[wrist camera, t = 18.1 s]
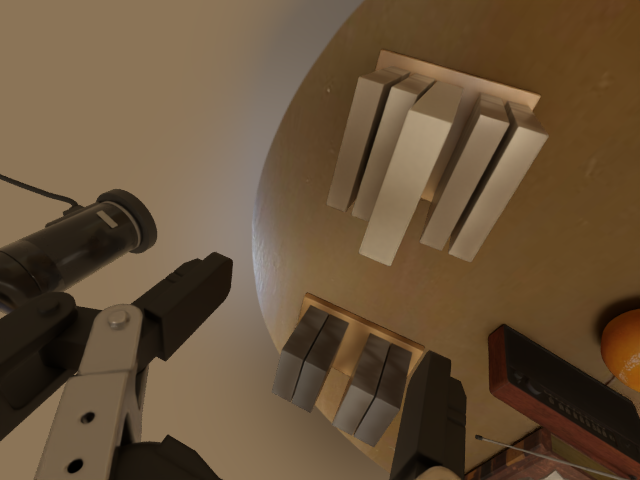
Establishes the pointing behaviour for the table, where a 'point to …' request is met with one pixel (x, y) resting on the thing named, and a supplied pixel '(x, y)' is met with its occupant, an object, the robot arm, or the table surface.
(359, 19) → the table surface
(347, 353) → the paired blocks on board
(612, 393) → the radio
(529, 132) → the upright slab rack
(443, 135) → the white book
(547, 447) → the book
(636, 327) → the fruit
